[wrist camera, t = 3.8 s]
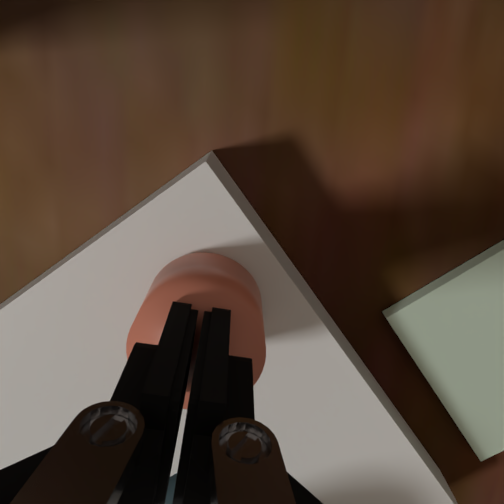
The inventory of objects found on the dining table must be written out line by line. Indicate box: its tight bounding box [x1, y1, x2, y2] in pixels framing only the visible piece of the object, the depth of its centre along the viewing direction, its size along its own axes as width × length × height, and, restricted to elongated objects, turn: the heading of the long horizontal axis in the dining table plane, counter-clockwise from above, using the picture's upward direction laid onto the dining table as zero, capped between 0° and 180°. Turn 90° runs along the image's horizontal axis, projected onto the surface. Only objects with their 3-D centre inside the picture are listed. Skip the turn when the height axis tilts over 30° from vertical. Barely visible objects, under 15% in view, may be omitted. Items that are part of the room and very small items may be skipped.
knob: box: [126, 252, 266, 409], centre depth 15 cm, size 4×4×6 cm
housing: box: [0, 151, 458, 504], centre depth 19 cm, size 20×18×3 cm
